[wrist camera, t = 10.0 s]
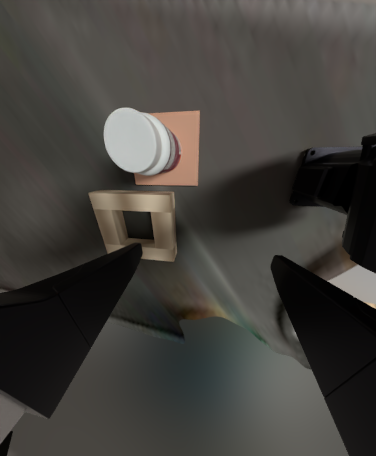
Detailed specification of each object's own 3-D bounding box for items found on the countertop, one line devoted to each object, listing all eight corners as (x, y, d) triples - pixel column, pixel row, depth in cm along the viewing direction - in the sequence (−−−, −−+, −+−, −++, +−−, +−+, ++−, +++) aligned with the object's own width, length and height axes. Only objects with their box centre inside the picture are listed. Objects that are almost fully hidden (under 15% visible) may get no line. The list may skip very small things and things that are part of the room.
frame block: (174, 191, 20) (169, 195, 17) (177, 252, 24) (173, 261, 22) (100, 189, 21) (88, 192, 19) (117, 247, 26) (108, 255, 24)
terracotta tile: (199, 112, 15) (199, 110, 15) (198, 185, 19) (197, 185, 18) (127, 116, 16) (124, 115, 16) (138, 184, 20) (136, 184, 19)
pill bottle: (143, 165, 18) (97, 165, 11) (151, 123, 16) (98, 87, 8) (176, 178, 18) (153, 187, 11) (188, 138, 16) (168, 115, 9)
